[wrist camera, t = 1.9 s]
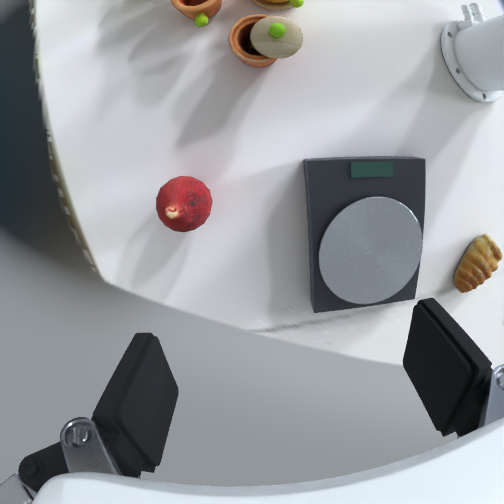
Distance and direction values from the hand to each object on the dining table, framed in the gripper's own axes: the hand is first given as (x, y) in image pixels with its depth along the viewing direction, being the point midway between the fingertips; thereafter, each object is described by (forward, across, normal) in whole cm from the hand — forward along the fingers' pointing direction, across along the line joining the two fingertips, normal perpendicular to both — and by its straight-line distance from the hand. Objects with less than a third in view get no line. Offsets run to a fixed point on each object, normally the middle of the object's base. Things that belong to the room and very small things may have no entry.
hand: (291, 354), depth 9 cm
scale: (+24, -12, +4) cm, 27 cm away
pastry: (+24, -31, +11) cm, 41 cm away
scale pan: (+21, -11, +6) cm, 25 cm away
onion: (+25, +8, -2) cm, 27 cm away
